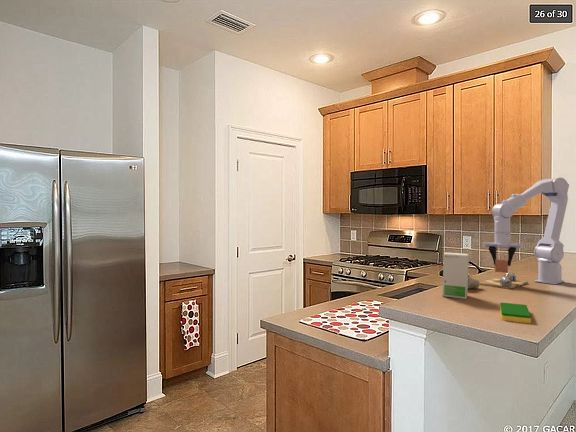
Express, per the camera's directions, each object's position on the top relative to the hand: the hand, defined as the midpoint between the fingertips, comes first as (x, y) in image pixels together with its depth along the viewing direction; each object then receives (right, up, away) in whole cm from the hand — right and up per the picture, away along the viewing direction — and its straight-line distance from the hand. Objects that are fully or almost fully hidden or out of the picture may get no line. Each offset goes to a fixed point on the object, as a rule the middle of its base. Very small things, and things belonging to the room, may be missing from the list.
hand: (502, 265), depth 158 cm
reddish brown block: (0, -3, 0) cm, 3 cm away
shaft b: (-2, -8, -6) cm, 10 cm away
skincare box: (-28, -9, -20) cm, 36 cm away
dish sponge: (-22, -10, -45) cm, 51 cm away
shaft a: (+5, -8, +4) cm, 10 cm away
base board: (0, -8, 0) cm, 8 cm away
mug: (-19, -9, -7) cm, 22 cm away
